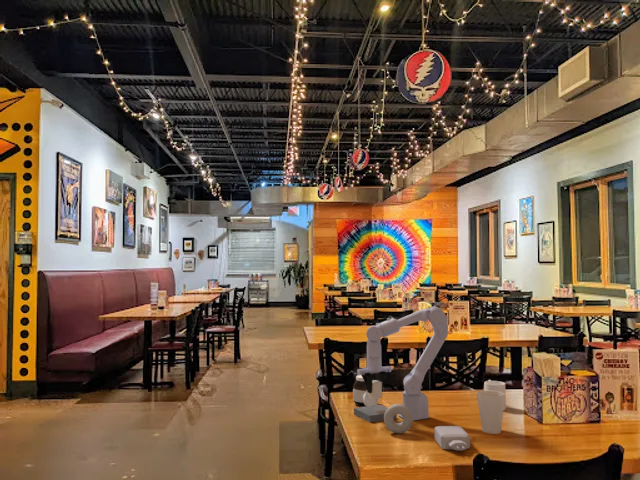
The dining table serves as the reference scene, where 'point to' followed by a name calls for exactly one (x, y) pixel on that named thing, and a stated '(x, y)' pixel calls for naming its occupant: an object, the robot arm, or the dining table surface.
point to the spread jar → (362, 393)
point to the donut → (393, 425)
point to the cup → (496, 388)
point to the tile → (371, 413)
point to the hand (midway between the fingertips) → (374, 392)
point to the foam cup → (491, 410)
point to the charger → (452, 437)
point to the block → (376, 390)
